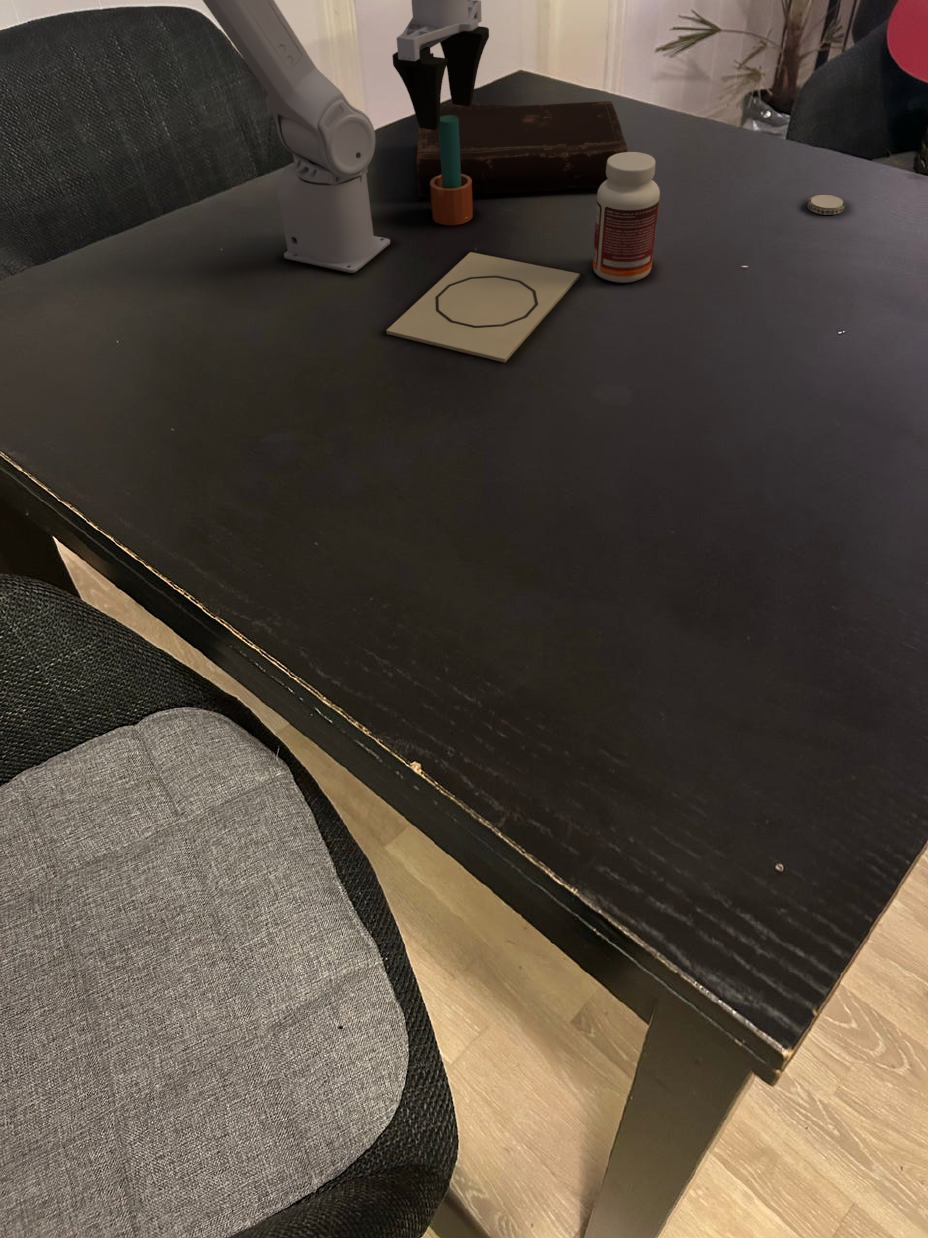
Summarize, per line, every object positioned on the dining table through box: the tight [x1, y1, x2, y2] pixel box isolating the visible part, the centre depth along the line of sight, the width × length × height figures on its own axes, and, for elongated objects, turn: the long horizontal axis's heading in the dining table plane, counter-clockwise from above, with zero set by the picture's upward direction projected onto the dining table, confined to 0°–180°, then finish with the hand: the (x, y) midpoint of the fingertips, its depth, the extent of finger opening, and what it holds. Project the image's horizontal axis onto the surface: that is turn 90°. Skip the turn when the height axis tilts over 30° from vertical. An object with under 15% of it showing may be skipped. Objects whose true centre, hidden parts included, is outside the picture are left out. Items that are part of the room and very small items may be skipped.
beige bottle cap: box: [806, 194, 846, 215], centre depth 100 cm, size 4×4×1 cm
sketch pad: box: [386, 251, 581, 364], centre depth 89 cm, size 13×18×1 cm
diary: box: [415, 100, 629, 198], centre depth 110 cm, size 19×25×5 cm
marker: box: [439, 115, 461, 189], centre depth 99 cm, size 2×2×10 cm
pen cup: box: [430, 174, 474, 226], centre depth 102 cm, size 5×5×4 cm
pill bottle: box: [592, 151, 661, 284], centre depth 89 cm, size 6×6×11 cm
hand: (445, 115), depth 97 cm, fingers open, 7 cm apart
